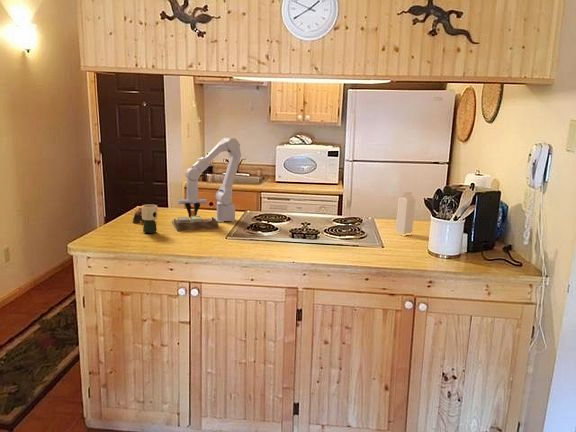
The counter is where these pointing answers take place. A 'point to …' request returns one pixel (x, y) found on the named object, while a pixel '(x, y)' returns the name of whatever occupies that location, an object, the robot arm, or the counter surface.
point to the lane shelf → (196, 225)
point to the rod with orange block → (195, 217)
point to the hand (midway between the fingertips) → (192, 217)
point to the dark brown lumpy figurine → (138, 216)
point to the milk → (405, 213)
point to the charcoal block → (183, 219)
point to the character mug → (149, 218)
